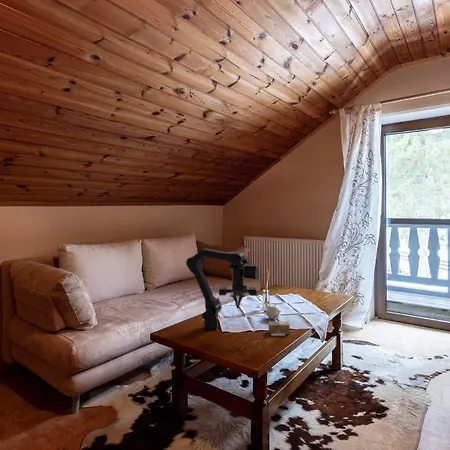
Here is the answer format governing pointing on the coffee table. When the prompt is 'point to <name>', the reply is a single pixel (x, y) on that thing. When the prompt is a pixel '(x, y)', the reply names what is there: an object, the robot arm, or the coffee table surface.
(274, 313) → the beige lumpy ball
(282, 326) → the cardboard box
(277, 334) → the felt mat
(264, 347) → the coffee table surface
